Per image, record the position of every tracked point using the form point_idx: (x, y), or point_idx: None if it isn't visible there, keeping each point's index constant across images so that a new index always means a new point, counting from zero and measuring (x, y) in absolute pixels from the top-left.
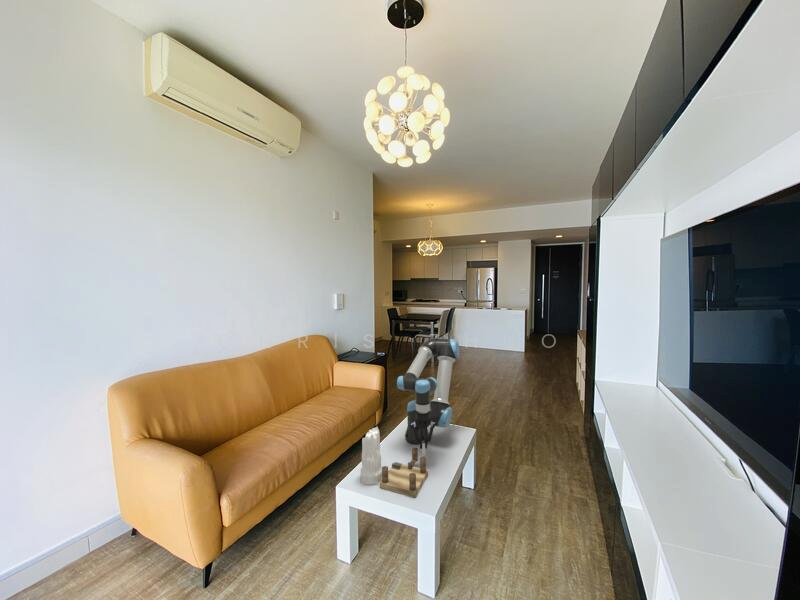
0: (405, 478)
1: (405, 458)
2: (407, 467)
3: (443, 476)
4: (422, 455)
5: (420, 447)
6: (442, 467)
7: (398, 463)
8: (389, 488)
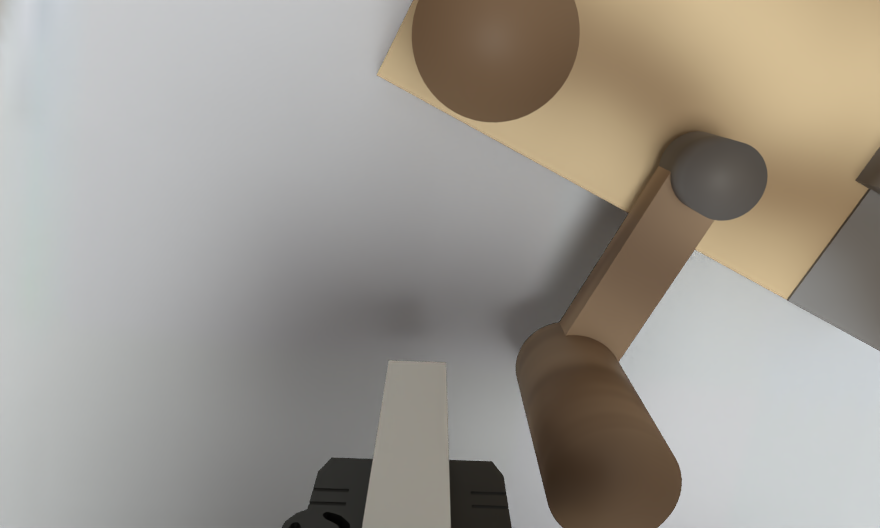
0: None
1: None
2: None
3: (142, 4)
4: (443, 367)
5: (490, 485)
6: (140, 242)
7: (853, 313)
8: None
